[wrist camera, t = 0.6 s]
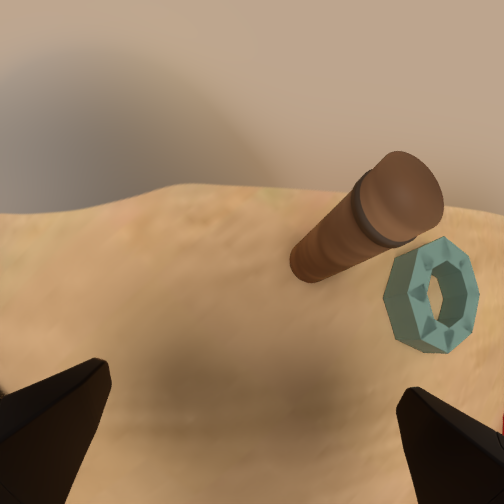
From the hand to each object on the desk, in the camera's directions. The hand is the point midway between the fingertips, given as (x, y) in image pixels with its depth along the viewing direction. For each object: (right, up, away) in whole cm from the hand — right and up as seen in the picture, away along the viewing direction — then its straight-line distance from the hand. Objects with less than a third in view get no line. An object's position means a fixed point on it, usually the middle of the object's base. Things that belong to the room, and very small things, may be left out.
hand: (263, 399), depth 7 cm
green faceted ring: (+16, 0, +16) cm, 22 cm away
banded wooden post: (+4, +3, +15) cm, 16 cm away
